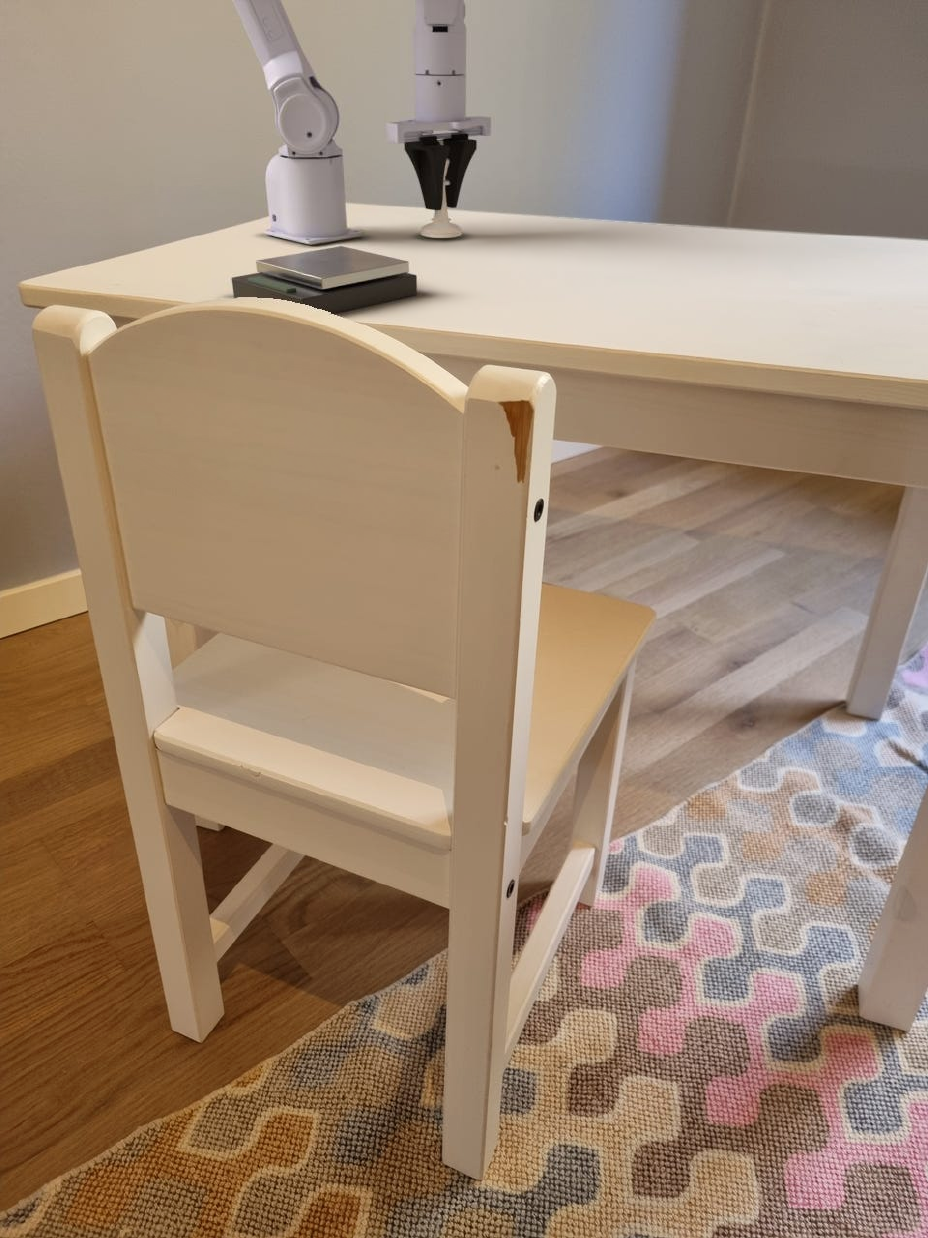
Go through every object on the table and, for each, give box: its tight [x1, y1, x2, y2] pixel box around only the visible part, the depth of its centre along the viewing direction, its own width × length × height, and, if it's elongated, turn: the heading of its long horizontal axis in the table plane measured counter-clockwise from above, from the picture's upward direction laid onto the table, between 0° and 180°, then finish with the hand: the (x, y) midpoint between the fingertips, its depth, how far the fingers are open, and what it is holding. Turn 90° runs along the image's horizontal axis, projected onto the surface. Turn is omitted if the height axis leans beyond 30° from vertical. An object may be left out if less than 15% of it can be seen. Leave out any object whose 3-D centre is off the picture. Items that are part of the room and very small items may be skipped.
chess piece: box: [420, 141, 463, 239], centre depth 108 cm, size 5×5×10 cm
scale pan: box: [255, 245, 410, 290], centre depth 85 cm, size 10×10×1 cm
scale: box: [230, 272, 418, 314], centre depth 85 cm, size 11×13×2 cm
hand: (441, 207), depth 109 cm, fingers closed on chess piece
